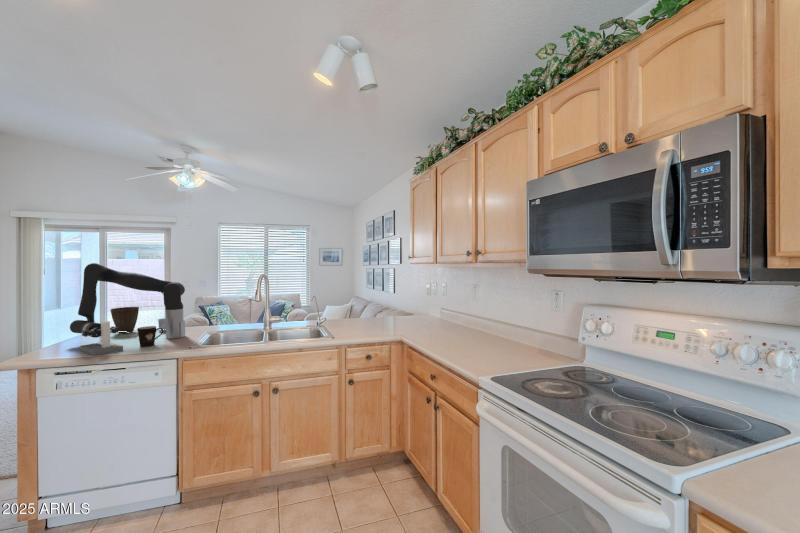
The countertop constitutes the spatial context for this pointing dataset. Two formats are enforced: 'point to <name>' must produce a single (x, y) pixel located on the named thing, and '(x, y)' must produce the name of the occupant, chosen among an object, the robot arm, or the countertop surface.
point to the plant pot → (125, 318)
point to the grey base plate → (100, 348)
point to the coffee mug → (147, 335)
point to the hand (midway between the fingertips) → (105, 332)
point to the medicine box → (162, 324)
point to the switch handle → (105, 334)
